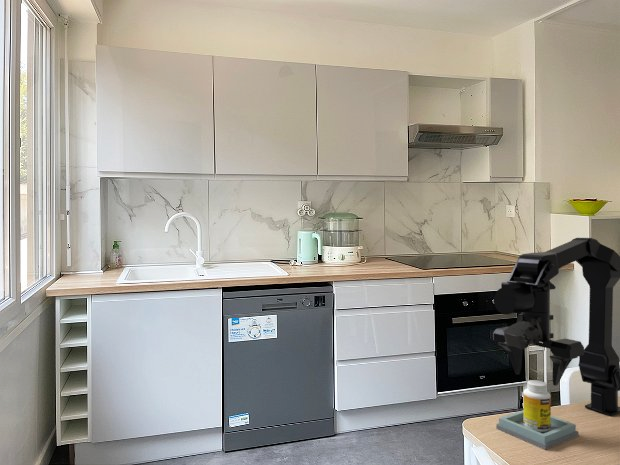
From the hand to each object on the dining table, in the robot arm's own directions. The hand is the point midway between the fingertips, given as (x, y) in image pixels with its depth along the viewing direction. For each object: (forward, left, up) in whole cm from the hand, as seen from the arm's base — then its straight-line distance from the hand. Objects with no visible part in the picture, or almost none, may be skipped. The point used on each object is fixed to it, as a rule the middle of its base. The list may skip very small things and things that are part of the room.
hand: (535, 379), depth 105 cm
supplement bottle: (0, 0, -11) cm, 11 cm away
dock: (0, 0, -12) cm, 12 cm away
